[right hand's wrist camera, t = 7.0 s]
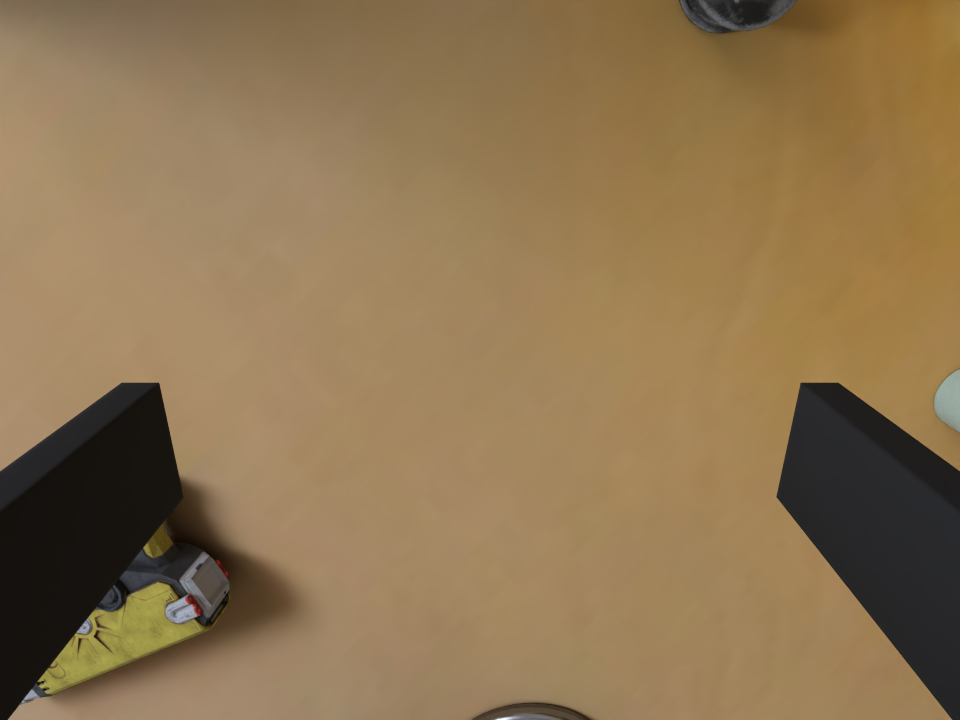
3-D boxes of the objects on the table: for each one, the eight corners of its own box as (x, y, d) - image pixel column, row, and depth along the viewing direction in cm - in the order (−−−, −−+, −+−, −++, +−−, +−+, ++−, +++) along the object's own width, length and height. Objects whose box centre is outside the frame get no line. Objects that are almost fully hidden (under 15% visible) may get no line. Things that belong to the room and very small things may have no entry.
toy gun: (-153, 587, 45) (-19, 730, 48) (88, 462, 39) (219, 633, 43) (-91, 548, 49) (28, 682, 53) (134, 431, 44) (249, 588, 47)
